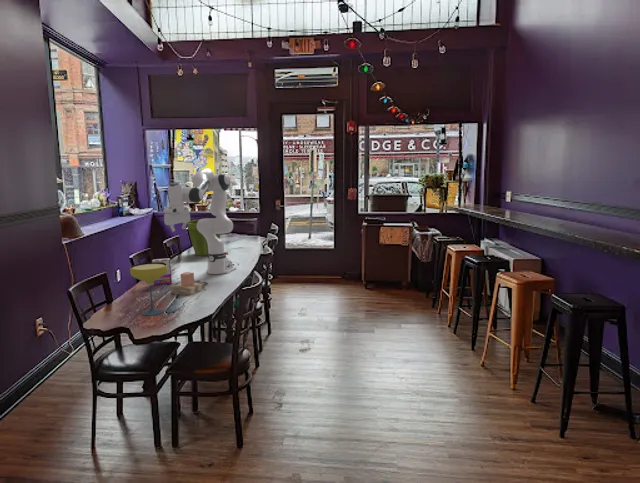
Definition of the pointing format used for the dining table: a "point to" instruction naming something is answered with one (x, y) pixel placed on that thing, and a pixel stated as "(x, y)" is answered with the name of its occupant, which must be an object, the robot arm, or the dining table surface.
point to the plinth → (188, 289)
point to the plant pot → (198, 239)
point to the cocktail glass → (149, 279)
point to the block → (187, 279)
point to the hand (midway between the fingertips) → (178, 230)
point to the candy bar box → (167, 277)
